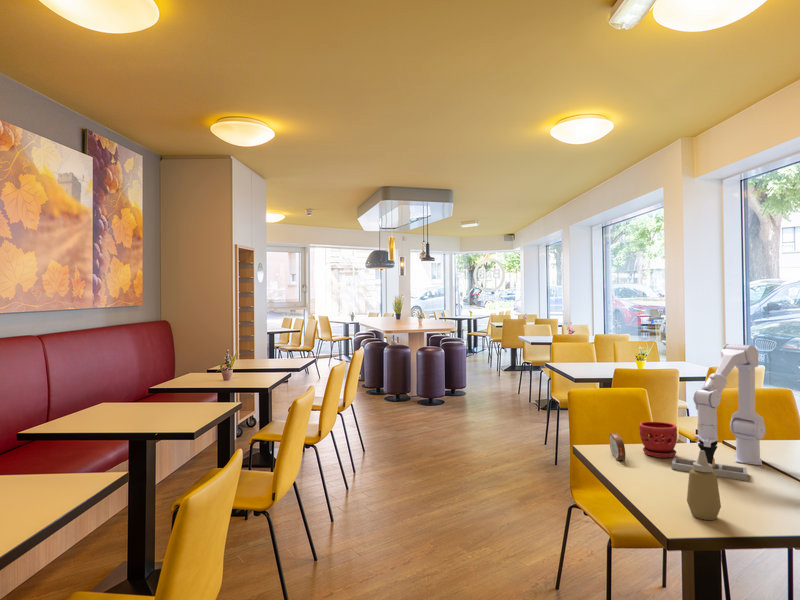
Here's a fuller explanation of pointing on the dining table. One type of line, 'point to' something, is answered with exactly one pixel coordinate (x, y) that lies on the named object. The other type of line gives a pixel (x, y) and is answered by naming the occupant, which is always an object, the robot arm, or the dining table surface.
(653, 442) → the plant pot
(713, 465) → the egg
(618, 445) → the tin
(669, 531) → the dining table surface
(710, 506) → the squeeze bottle
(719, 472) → the grey compartment tray
